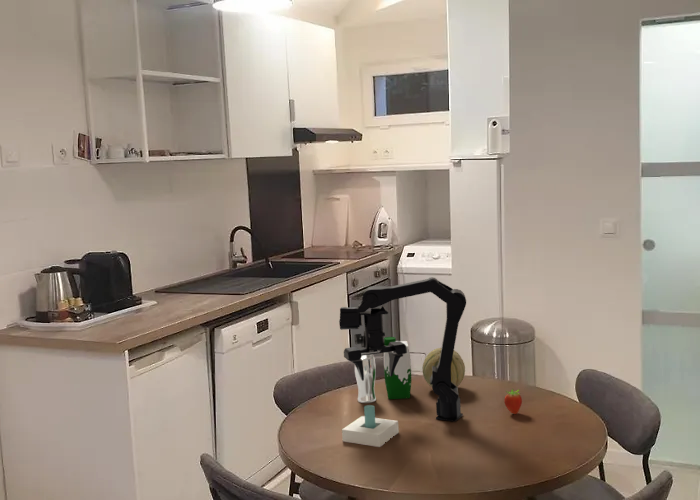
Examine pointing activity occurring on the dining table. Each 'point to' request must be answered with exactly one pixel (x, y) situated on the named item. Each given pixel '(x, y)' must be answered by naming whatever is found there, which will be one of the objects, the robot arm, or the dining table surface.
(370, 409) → the peg
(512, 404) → the fruit
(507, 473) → the dining table surface
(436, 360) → the cantaloupe
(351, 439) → the socket block
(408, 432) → the dining table surface
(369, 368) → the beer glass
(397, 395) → the milk carton
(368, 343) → the robot arm
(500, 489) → the dining table surface
